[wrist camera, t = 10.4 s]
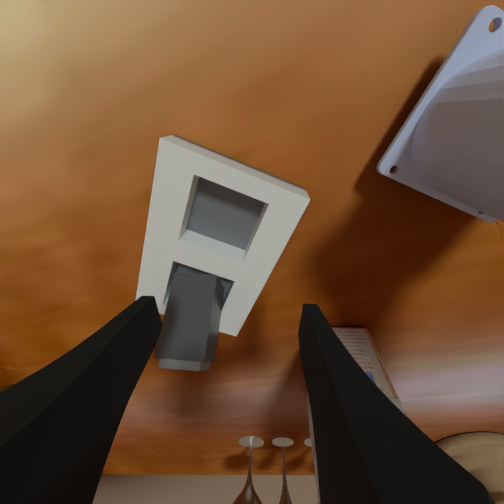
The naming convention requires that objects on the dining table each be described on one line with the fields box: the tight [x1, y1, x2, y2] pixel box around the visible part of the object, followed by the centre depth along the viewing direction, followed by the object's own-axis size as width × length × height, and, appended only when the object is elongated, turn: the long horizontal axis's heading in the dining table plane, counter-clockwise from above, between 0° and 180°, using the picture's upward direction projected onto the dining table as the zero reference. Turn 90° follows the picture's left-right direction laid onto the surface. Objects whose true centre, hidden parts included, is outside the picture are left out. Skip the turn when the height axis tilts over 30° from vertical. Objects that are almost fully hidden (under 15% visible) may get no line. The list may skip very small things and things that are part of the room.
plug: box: [154, 273, 224, 371], centre depth 19 cm, size 4×4×7 cm
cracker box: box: [305, 327, 406, 504], centre depth 19 cm, size 14×6×21 cm, turn 2°
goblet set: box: [233, 436, 319, 504], centre depth 34 cm, size 28×6×13 cm, turn 99°
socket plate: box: [136, 135, 310, 337], centre depth 19 cm, size 10×15×2 cm, turn 159°
